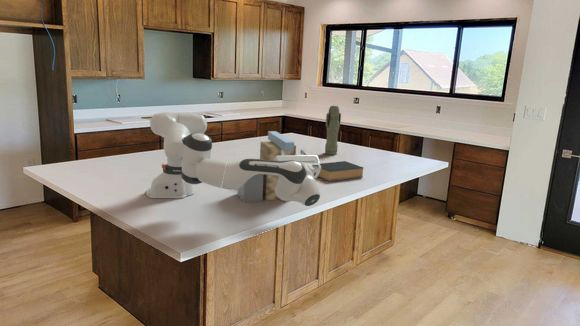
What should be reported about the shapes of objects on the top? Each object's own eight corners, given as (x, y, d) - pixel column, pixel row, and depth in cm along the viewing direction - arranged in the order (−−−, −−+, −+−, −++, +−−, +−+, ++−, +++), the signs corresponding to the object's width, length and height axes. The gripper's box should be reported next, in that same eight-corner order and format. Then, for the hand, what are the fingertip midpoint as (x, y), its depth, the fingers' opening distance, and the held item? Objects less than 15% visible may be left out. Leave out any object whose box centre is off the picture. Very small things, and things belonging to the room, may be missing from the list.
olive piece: (320, 153, 320) (324, 105, 312) (332, 151, 327) (336, 105, 319) (328, 155, 313) (332, 107, 305) (340, 154, 320) (344, 106, 312)
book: (311, 175, 259) (312, 164, 257) (344, 171, 272) (345, 161, 270) (328, 182, 244) (329, 171, 243) (362, 178, 258) (363, 167, 256)
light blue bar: (285, 151, 194) (285, 142, 193) (267, 139, 217) (268, 131, 216) (293, 151, 195) (294, 142, 194) (275, 139, 219) (275, 131, 218)
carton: (265, 200, 207) (268, 146, 201) (258, 192, 218) (260, 141, 212) (293, 198, 212) (296, 145, 206) (284, 191, 223) (287, 140, 217)
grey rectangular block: (243, 202, 202) (244, 168, 199) (237, 193, 214) (238, 162, 210) (262, 200, 205) (263, 168, 202) (254, 192, 217) (255, 161, 214)
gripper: (276, 178, 184) (268, 156, 193) (320, 177, 191) (311, 155, 200) (280, 168, 180) (272, 145, 189) (324, 166, 187) (314, 145, 196)
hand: (292, 150), depth 194 cm, fingers open, 8 cm apart
